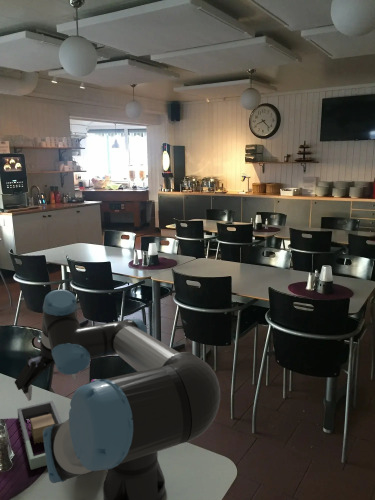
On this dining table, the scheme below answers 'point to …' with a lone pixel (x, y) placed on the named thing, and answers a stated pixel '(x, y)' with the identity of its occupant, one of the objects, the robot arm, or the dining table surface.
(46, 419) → the oak block
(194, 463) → the dining table surface
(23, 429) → the channel
